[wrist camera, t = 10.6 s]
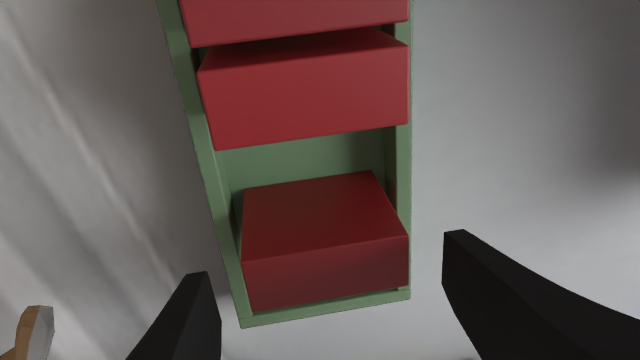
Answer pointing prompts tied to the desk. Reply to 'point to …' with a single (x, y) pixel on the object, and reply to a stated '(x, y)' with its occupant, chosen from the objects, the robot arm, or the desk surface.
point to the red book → (320, 241)
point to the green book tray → (288, 171)
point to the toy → (33, 335)
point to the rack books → (298, 68)
